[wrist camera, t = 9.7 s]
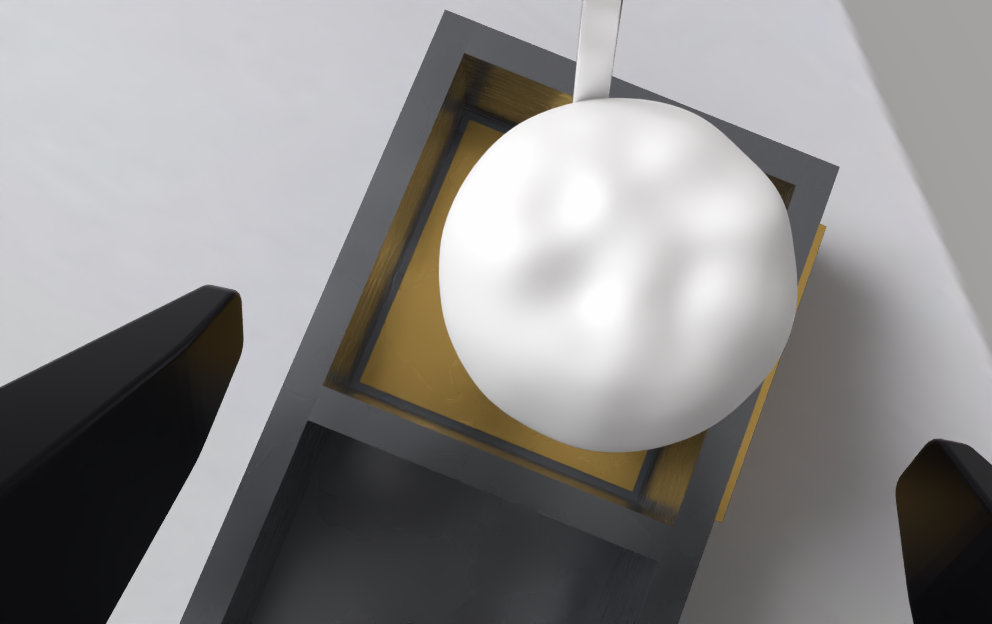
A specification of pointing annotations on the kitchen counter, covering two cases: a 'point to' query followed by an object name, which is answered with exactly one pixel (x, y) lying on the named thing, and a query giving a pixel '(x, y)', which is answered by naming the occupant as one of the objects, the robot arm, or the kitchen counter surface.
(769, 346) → the milkshake
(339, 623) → the rack
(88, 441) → the robot arm
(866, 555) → the kitchen counter surface
